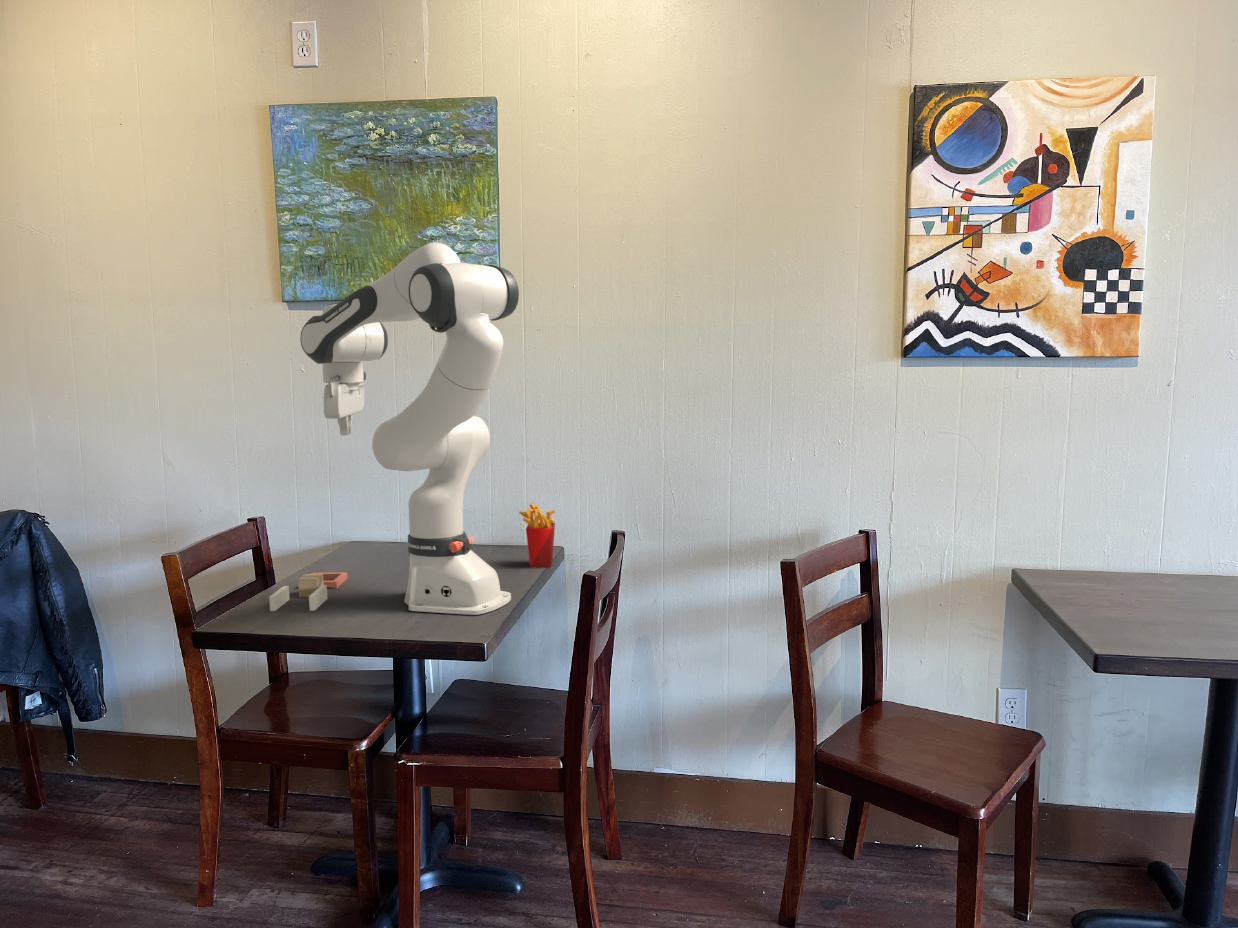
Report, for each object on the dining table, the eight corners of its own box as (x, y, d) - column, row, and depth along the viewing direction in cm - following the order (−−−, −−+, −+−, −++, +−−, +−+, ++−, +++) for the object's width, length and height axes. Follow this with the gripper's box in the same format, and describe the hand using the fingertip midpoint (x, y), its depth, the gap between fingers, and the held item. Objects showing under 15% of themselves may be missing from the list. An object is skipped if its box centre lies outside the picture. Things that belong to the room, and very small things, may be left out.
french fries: (556, 561, 211) (555, 501, 209) (553, 570, 203) (552, 508, 201) (521, 561, 211) (519, 502, 209) (516, 570, 203) (514, 508, 201)
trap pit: (336, 588, 189) (336, 581, 189) (300, 588, 189) (300, 582, 189) (347, 578, 197) (347, 572, 197) (312, 579, 197) (312, 572, 197)
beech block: (317, 597, 183) (316, 578, 183) (299, 597, 183) (297, 579, 183) (323, 591, 187) (322, 573, 187) (305, 591, 187) (304, 574, 186)
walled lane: (314, 610, 173) (313, 596, 173) (270, 611, 173) (269, 596, 173) (327, 598, 181) (326, 585, 181) (284, 599, 181) (283, 585, 181)
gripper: (343, 377, 186) (346, 440, 188) (368, 373, 206) (370, 429, 208) (314, 377, 186) (317, 440, 188) (342, 373, 206) (344, 429, 208)
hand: (345, 434), depth 198 cm, fingers closed
